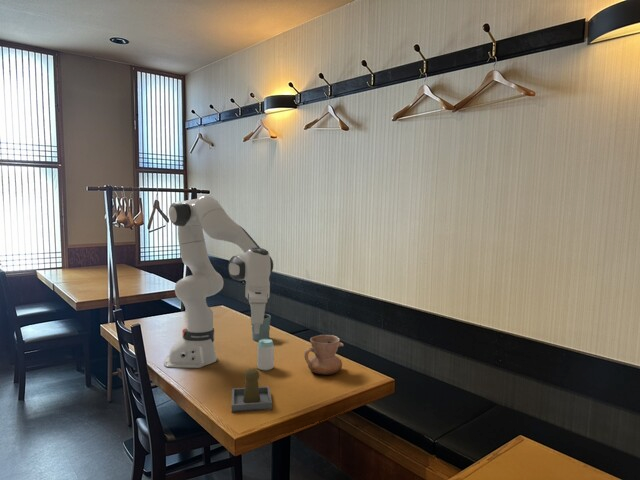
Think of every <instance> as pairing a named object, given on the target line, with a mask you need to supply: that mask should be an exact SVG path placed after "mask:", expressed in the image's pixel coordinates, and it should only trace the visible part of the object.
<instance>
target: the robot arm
mask: <svg viewBox="0 0 640 480" xmlns="http://www.w3.org/2000/svg"><path fill="white" fill-rule="evenodd" d="M168 217H169V220H170V222H171V223H172V224H173V225H174V226H177V238H178V245H179V250H180V251H179V252H180V256H181V261H182V263H183V264H184V265H185V266H186V267H188V268H189V270H190V271H191V275H187V276H185V277H183V278H180V279H179V280H178V281H176V283H175V285H174V293H175V296H176V297H177V300H180V301H181V302H182V304H183V306H184V308H185V312H186V318H187V319H186V323H187V327H184V328H183V329H182V338H181V339H179V340H178V341H177V342H175V343H174V344H173V345H172V346H171V348H170V350H169V355H167V356H166V357H164V360H163V366H164V367H166V368H189V369H197V368H198V369H200V368H203V367H204V366H207V365H211V364H213V363H215V362H216V361H217V359H218V358H217V354H216V349H215V328H214V311H213V309H211V308H210V307H209V306H208V303H207V297H208V298H209V297H211V296H215V295H216V294H218V293H219V292H221V290H223V287H224V278H223V277H222V275H221V274H220V273H219V272H218V271H217V270H215V268H214V266H213V265H212V263H211V261H210V257H209V255H208V250H207V245H206V241H205V235H204V233H205V234H206V235H207V236H208V237H210V238H211V239H214V240H217V241H224V242H227V243H232V244H234V245H237V246H238V247H239V248H240V249H241V250H242V251H243V253H240V254H237V255H233V256H231V257H230V258H229V261H228V263H227V272H228V274H229V276H230V278H232V279H233V280H235V281H245V291H244V292H245V294H244V296H245V298H246V299H247V300H248V302H249V305H250V315H251V316H252V324H254V334H259V329H260V324H262V323H263V319H264V314H265V312H266V304H267V303H268V300H269V299H270V293H271V290H270V289H271V283H270V276H271V274H272V272H273V270H274V260H273V258H272V257H271V256H270V252H269V250H267V249H265V248H262V247H260V246H259V245H258V243H257V242H256V241H255V240H254V238H252V237H251V235H250V233H248V232H247V231H246V230H245V228H243V227H242V226H241V225H239V224H238V223H236V222H235V221H234V220H233V219H232V218H231V217H230V216H229V214H227V212H226V211H225V209H224V208H223V206H222V205H221V204H220V202H218V200H217V199H215V197H213V196H211V195H203V196H200V197H198V198H193V199H188V200H178V201H174V202H172V203H171V205H170V206H169V209H168ZM251 316H250V317H251Z"/></svg>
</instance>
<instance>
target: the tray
mask: <svg viewBox="0 0 640 480" xmlns="http://www.w3.org/2000/svg"><path fill="white" fill-rule="evenodd" d="M244 391H245V387H237V388H231V413H241V412H242V413H243V412H244V413H245V412H256V411H257V412H258V411H259V412H260V411H271V410H273V401H272V394H271V389H270V386H259V394H260V402H258V403H244V402H243V398H244Z"/></svg>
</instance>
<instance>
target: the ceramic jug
mask: <svg viewBox="0 0 640 480" xmlns="http://www.w3.org/2000/svg"><path fill="white" fill-rule="evenodd" d="M340 340H341V339H340V338H339V337H338V336H336V335H334V334H332V335H331V334H320V335H315V336H312V337H310V339H309V341H310V345H311V347H307V348H306V349H305V350H304V360H305V361H306V364H307V367H308V368H309V370H310V371H311V372H313V373H315V374H317V375H323V376H324V375H325V376H327V375H328V376H329V375H333V374H336V373H338V372H340V370H342V367H343V361H342V359H341V358H339V357H338V356H336V354H337V352H338V348H339V347H344V343H342V342H341V341H340ZM310 352H311V353H314V356H313V357H311V358H310V359H309V354H310Z"/></svg>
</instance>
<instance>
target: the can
mask: <svg viewBox="0 0 640 480" xmlns="http://www.w3.org/2000/svg"><path fill="white" fill-rule="evenodd" d="M256 347H257V348H256V350H257V352H256V353H257V355H256V356H257V357H256V363H257V365H256V367H257V369H259V370H260V371H270V370H272V369H273V368H274V367H275V365H274V364H275V344H274V342H273V339H270V338H269V339H261V340H259V341H258V343H257V346H256Z"/></svg>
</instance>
